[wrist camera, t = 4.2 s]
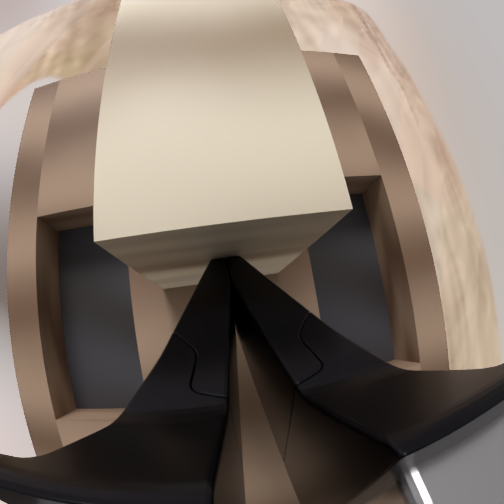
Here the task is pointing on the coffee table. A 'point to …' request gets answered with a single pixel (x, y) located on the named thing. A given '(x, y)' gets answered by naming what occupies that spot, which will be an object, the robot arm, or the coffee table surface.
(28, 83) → the coffee table surface
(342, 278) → the board
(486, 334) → the coffee table surface
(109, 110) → the birch block
